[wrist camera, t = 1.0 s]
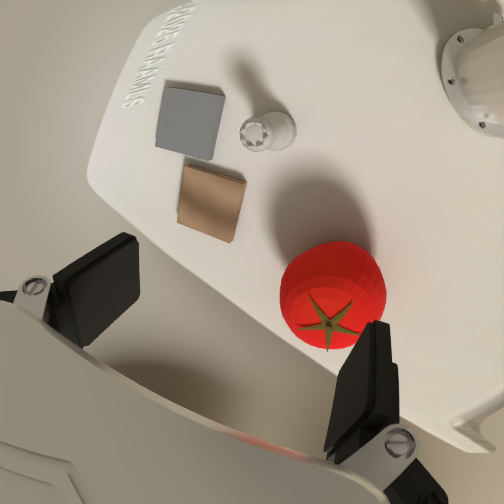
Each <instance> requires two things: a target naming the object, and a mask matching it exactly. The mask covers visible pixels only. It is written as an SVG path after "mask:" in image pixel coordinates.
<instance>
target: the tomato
mask: <svg viewBox="0 0 504 504" xmlns="http://www.w3.org/2000/svg"><path fill="white" fill-rule="evenodd" d="M385 304H386V287H385V283H384V279H383V276H382V274H381V271H380V268H379V267H378V265H377V263H376V262H375V260H374V259H373V257H372V256H371V255H370V254H369V253H368V252H367V251H366V250H365V249H363V248H361V247H359V246H358V245H356V244H353V243H349V242H345V241H336V242H329V243H325V244H322V245H319V246H316V247H314V248H312V249H310V250H308V251H306V252H304V253H303V254H301V255H300V256H298V257H296V258H295V259H294V260H293V261H292V262H291V263H290V264H289V265H288V267H287V268H286V270H285V272H284V274H283V277H282V280H281V286H280V307H281V312H282V316H283V318H284V320H285V322H286V323H287V325H288V326H289V328H290V329H291V331H292V332H293V333H294V334H295V335H296V336H297V337H298V338H299V339H301V340H302V341H304V342H305V343H307V344H310V345H312V346H315V347H318V348H323V349H327V352H328V349H342V348H346V347H349V346H352V345H353V344H355V343H356V342H357V340H358V339H359V337H360V335H361V333H362V331H363V330H364V328H365V326H366V324H367V323H368V322H371V323H372V322H373V321H374V320H378V321H379V320H380V318H381V317H382V314H383V311H384V308H385Z"/></svg>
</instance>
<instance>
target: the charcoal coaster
mask: <svg viewBox="0 0 504 504" xmlns="http://www.w3.org/2000/svg"><path fill="white" fill-rule="evenodd" d="M225 97H226V96H222V95H216V94H211V93H205V92H199V91H193V90H186V89H179V88H172V87H165V88H164V94H163V99H162V105H161V110H160V116H159V123H158V129H157V136H156V143H155V146H156V147H159V148H163V149H167V150H171V151H175V152H178V153H182V154H186V155H189V156H193V157H196V158H200V159H203V160H207V161H208V160H211V159H212V158H213V153H214V148H215V143H216V138H217V133H218V129H219V124H220V119H221V115H222V110H223V106H224V101H225Z"/></svg>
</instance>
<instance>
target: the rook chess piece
mask: <svg viewBox="0 0 504 504" xmlns="http://www.w3.org/2000/svg"><path fill="white" fill-rule="evenodd" d="M295 137H296V125H295V123H294V121H293V119H292V118H290V117H289V116H288V115H287V114H285V113H282V112H279V111H276V112H269V113H267V114H265V115H263V116H261V117H251V118H249V119H247V120H246V121H245V122H244V123H243V124H242V126H241V129H240V139H241V141H242V143H243V145H244V146H245V147H246V148H247V149H249V150H251V151H254V152H262V151H264V150H266V149H269V150H272V151H273V150H283V149H285V148H288V147H289V146H290V145H291V144H292V143H293V142H294V140H295Z"/></svg>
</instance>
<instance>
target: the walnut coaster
mask: <svg viewBox="0 0 504 504" xmlns="http://www.w3.org/2000/svg"><path fill="white" fill-rule="evenodd" d="M246 184H247V182H244V181H241V180H238V179H235V178H232V177H229V176H226V175H223V174H220V173H216V172H213V171H210V170H207V169H203V168H200V167H197V166H193V165H190V164H189V165H186V166H185V167H184V174H183V180H182V187H181V194H180V202H179V209H178V217H177V223H179V224H182V225H184V226H187V227H190V228H192V229H195V230H197V231H200V232H202V233H205V234H207V235H210V236H212V237H215V238H217V239H220V240H222V241H225V242H227V243H231V242H232V241H233V239H234V235H235V231H236V226H237V222H238V218H239V213H240V209H241V205H242V201H243V196H244V192H245V188H246Z"/></svg>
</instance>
